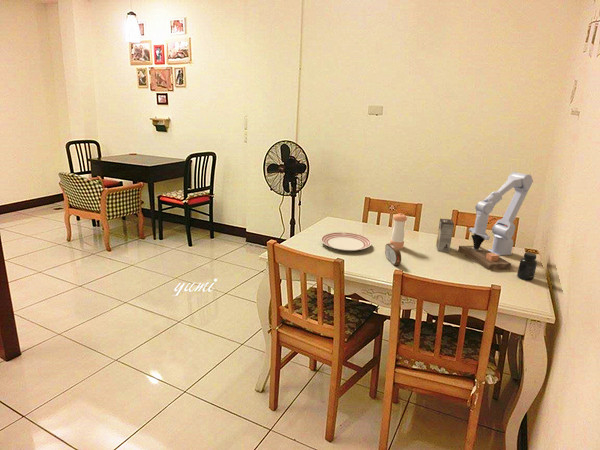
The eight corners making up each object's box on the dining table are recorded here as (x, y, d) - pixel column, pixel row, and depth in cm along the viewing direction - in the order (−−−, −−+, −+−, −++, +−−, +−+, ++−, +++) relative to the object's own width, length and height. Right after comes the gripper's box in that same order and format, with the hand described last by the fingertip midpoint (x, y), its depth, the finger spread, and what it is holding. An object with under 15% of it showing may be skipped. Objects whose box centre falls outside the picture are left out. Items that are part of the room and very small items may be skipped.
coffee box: (435, 245, 223) (439, 218, 218) (447, 246, 221) (451, 219, 217) (437, 250, 214) (442, 222, 209) (449, 252, 213) (454, 223, 208)
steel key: (476, 252, 212) (477, 247, 212) (481, 255, 209) (482, 249, 208) (469, 252, 212) (470, 247, 211) (474, 255, 208) (475, 249, 207)
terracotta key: (492, 258, 200) (493, 252, 199) (497, 261, 196) (499, 255, 195) (485, 258, 199) (486, 253, 198) (490, 261, 195) (491, 255, 194)
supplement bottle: (513, 274, 187) (518, 251, 183) (527, 275, 188) (532, 251, 184) (522, 281, 180) (528, 256, 177) (536, 281, 181) (542, 256, 178)
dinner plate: (366, 258, 199) (366, 251, 198) (314, 249, 207) (314, 243, 206) (374, 241, 224) (375, 236, 223) (327, 234, 232) (328, 229, 231)
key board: (477, 250, 218) (478, 245, 217) (510, 269, 193) (511, 263, 192) (458, 251, 215) (458, 245, 214) (488, 270, 191) (489, 264, 190)
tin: (400, 267, 189) (403, 251, 186) (394, 267, 188) (396, 251, 186) (389, 256, 203) (390, 240, 200) (383, 256, 202) (385, 240, 200)
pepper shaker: (388, 247, 215) (392, 213, 210) (390, 243, 222) (395, 210, 216) (402, 249, 213) (406, 215, 207) (404, 245, 219) (408, 212, 214)
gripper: (465, 220, 211) (461, 244, 215) (482, 228, 198) (477, 253, 202) (477, 220, 213) (473, 243, 217) (495, 228, 199) (490, 253, 203)
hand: (476, 248), depth 209 cm, fingers closed, pressing on steel key
